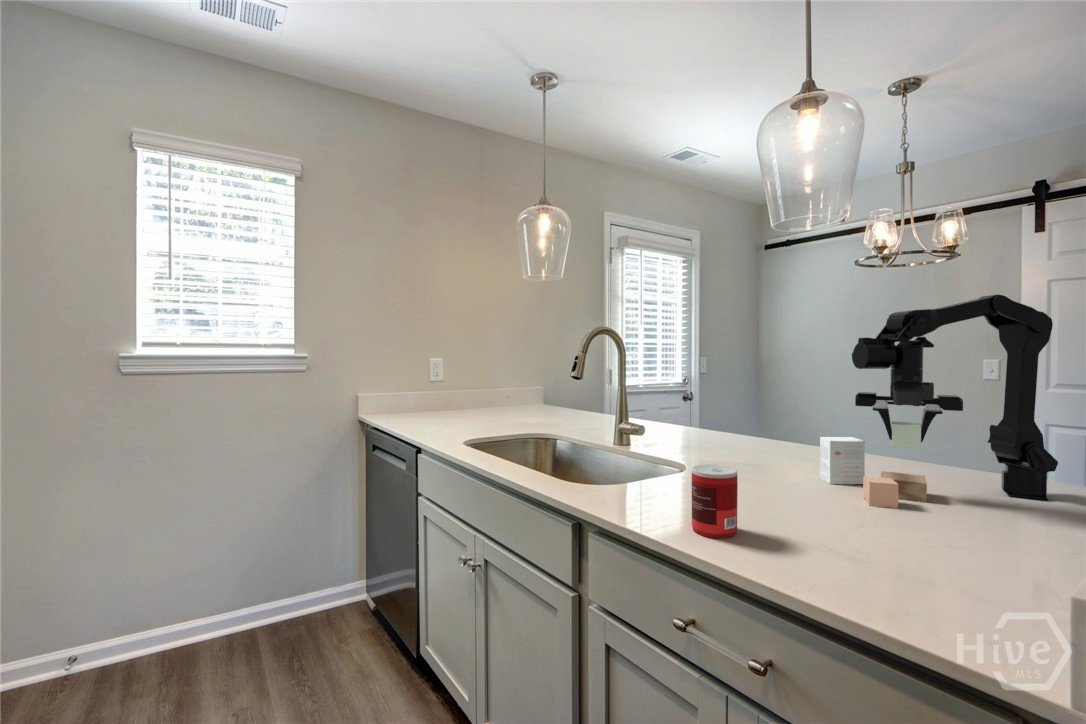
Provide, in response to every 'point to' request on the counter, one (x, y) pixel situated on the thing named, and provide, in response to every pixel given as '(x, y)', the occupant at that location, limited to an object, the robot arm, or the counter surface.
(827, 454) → the small box
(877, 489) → the terracotta cube
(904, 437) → the sage cube
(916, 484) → the walnut block
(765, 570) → the counter surface
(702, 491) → the canned food
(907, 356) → the robot arm
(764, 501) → the counter surface
